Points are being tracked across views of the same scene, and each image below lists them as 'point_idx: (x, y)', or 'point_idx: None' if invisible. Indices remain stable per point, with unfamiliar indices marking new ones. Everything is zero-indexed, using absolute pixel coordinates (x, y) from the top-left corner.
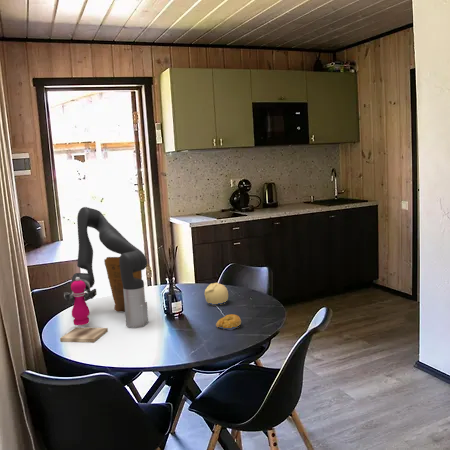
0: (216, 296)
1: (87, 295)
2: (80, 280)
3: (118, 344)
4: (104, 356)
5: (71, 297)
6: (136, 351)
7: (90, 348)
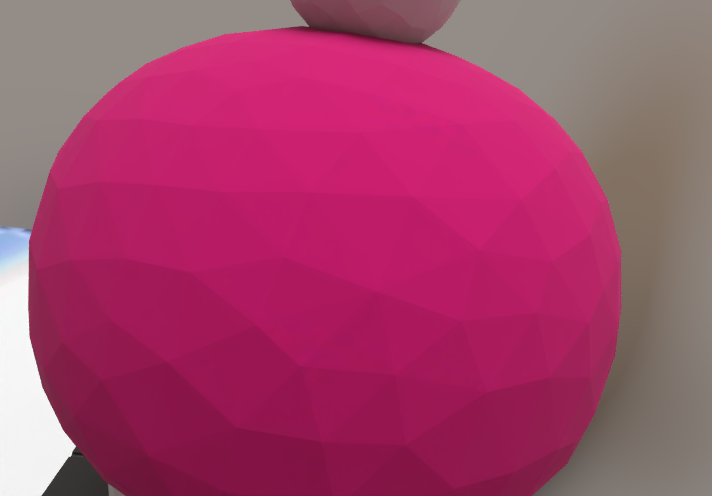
0: None
1: (84, 472)
2: (246, 33)
3: (45, 461)
4: None
5: None
6: None
7: None
